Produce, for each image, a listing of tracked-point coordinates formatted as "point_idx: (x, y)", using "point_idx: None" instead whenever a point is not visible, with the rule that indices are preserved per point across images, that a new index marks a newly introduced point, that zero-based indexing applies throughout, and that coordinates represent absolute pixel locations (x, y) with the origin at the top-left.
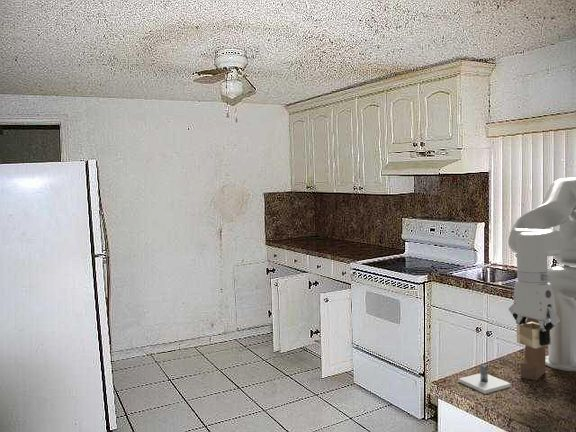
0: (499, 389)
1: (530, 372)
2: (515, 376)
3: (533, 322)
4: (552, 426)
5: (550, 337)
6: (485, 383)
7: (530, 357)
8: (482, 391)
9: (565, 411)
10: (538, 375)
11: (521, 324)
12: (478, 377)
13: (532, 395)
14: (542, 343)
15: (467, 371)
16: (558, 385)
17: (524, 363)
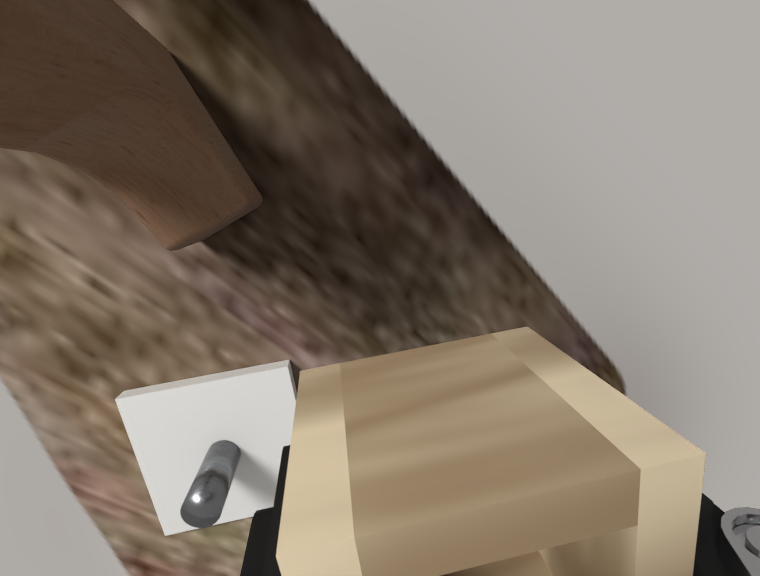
0: None
1: (233, 219)
2: (174, 252)
3: (343, 553)
4: None
5: (574, 365)
6: (253, 463)
7: (140, 164)
8: None
9: (552, 322)
10: (241, 168)
11: None
12: (176, 455)
13: (396, 334)
14: None
15: (46, 429)
16: (346, 137)
17: (183, 235)
